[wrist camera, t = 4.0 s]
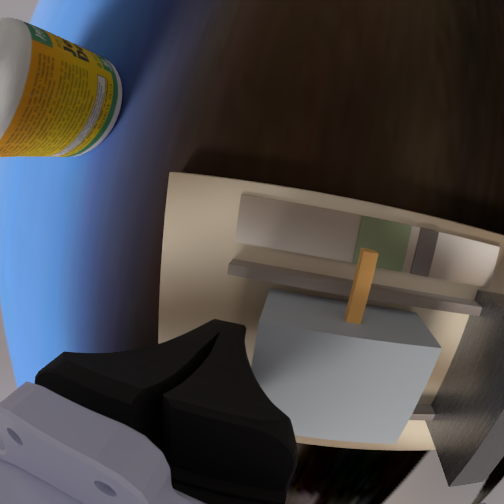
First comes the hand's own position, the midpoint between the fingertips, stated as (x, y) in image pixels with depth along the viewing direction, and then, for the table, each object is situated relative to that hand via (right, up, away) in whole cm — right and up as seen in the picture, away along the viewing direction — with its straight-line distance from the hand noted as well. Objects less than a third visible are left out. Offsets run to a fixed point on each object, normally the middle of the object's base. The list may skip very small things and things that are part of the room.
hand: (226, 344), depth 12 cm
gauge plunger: (+4, +1, 0) cm, 5 cm away
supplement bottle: (-7, +11, +2) cm, 13 cm away
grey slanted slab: (+11, -2, 0) cm, 11 cm away
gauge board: (+5, 0, +2) cm, 5 cm away
